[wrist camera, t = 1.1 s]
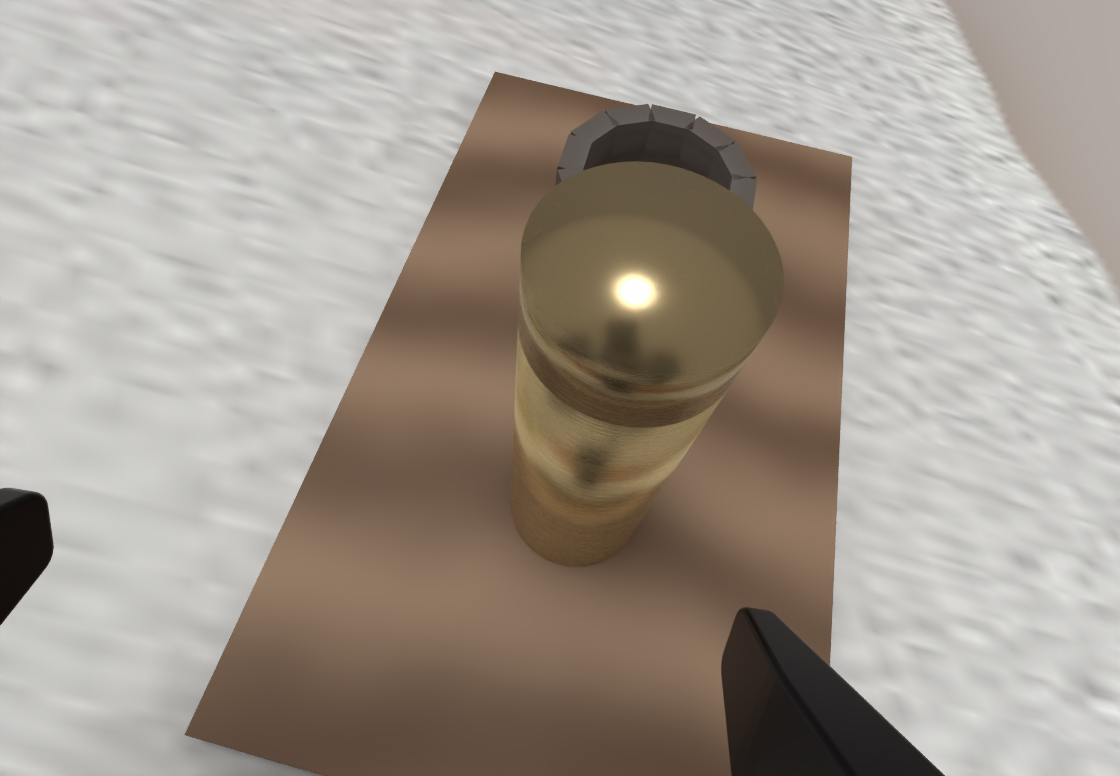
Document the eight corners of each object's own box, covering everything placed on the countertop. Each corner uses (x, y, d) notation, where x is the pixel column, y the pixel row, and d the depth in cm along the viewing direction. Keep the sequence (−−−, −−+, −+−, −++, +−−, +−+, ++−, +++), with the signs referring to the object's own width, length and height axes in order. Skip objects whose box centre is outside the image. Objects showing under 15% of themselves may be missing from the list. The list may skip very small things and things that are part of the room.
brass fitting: (664, 510, 22) (836, 277, 11) (569, 595, 21) (652, 427, 9) (579, 420, 24) (653, 128, 12) (483, 493, 22) (466, 236, 11)
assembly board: (800, 909, 18) (876, 954, 15) (201, 734, 19) (130, 735, 15) (840, 175, 33) (884, 104, 29) (495, 92, 33) (494, 12, 30)
